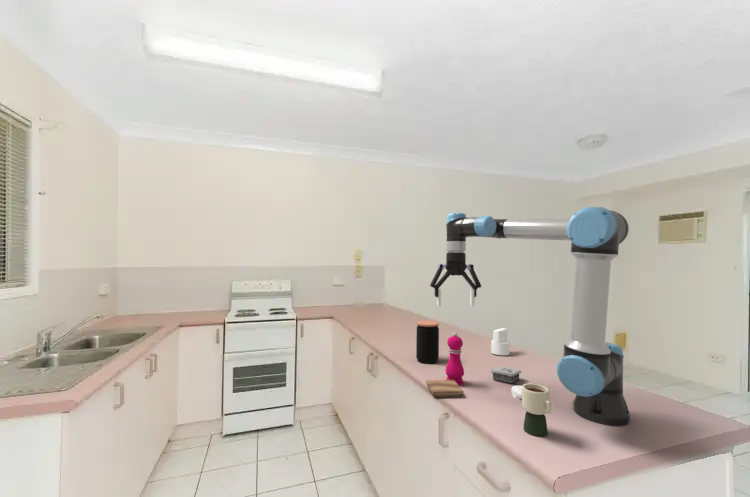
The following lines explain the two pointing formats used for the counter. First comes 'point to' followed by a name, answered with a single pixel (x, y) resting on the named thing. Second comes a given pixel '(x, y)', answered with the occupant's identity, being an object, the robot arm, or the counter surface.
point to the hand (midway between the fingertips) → (455, 305)
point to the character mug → (535, 408)
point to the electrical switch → (506, 374)
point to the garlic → (517, 391)
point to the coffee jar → (427, 341)
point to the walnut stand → (444, 388)
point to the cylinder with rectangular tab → (500, 342)
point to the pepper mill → (455, 359)
